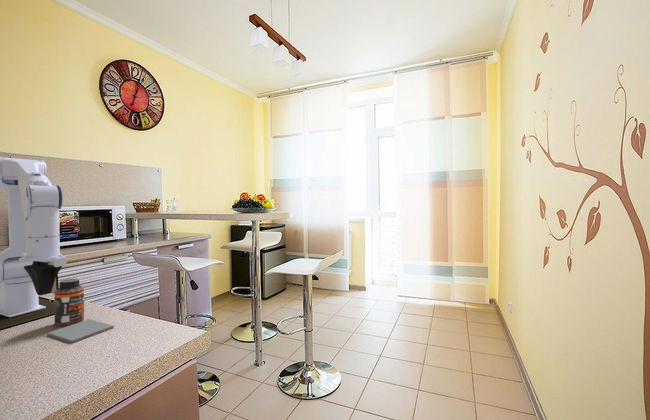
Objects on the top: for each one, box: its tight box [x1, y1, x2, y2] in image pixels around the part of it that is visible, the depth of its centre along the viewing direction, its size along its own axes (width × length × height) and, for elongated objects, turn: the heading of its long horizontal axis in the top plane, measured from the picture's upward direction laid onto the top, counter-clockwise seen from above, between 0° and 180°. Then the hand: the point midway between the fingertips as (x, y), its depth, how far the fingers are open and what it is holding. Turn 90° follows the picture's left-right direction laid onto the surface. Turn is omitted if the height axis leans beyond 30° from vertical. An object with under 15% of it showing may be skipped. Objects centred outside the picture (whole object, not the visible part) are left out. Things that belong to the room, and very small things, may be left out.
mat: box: [47, 319, 115, 344], centre depth 73 cm, size 10×9×1 cm
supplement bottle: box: [54, 278, 85, 327], centre depth 79 cm, size 6×6×11 cm
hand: (44, 293), depth 70 cm, fingers closed
